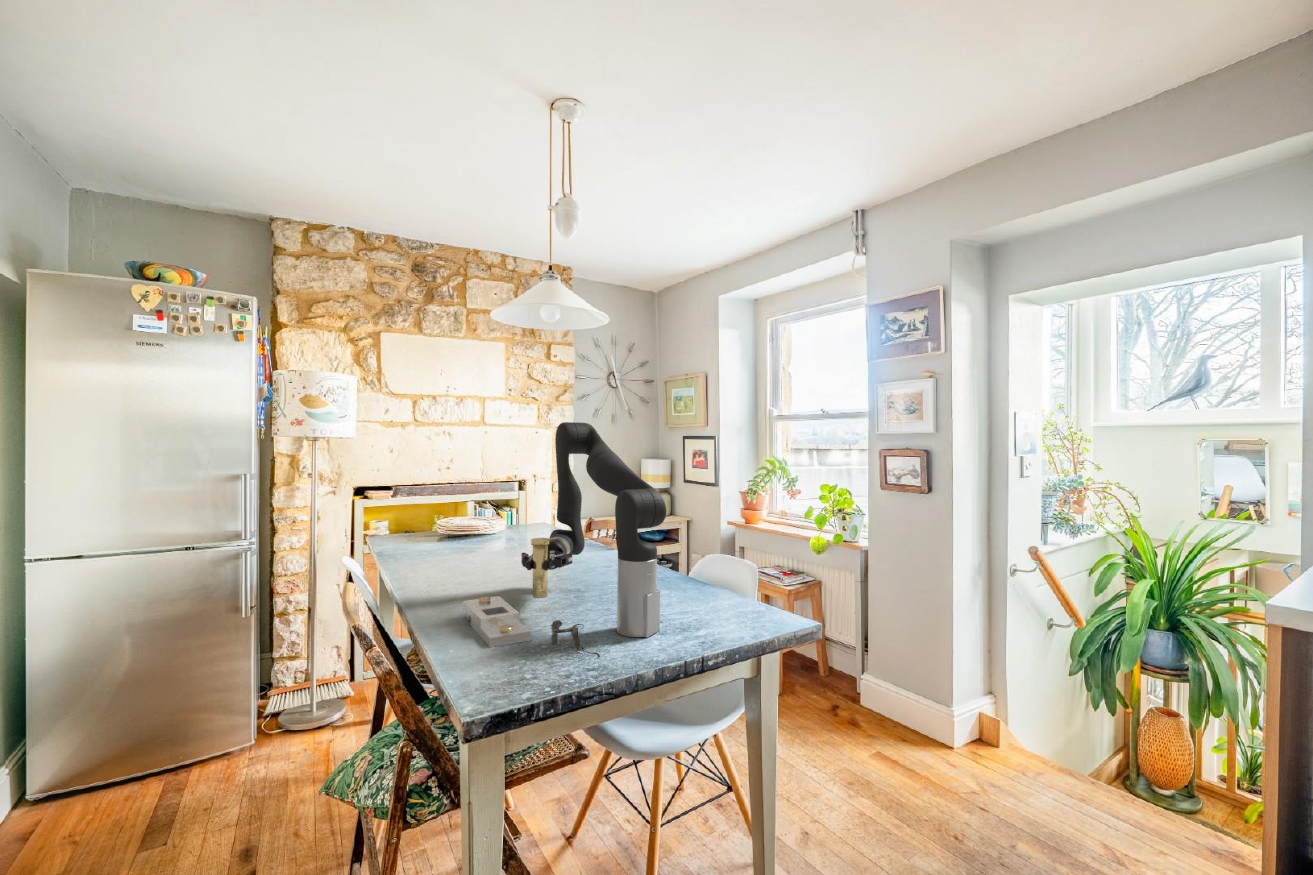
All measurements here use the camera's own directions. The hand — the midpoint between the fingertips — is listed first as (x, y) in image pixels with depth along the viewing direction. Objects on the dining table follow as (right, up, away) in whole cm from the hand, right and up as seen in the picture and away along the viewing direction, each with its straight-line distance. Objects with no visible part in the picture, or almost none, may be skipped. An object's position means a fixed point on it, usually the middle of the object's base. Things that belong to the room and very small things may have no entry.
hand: (537, 566), depth 140 cm
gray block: (-9, -14, -3) cm, 17 cm away
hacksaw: (+10, -15, -10) cm, 21 cm away
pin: (0, -8, +3) cm, 8 cm away
